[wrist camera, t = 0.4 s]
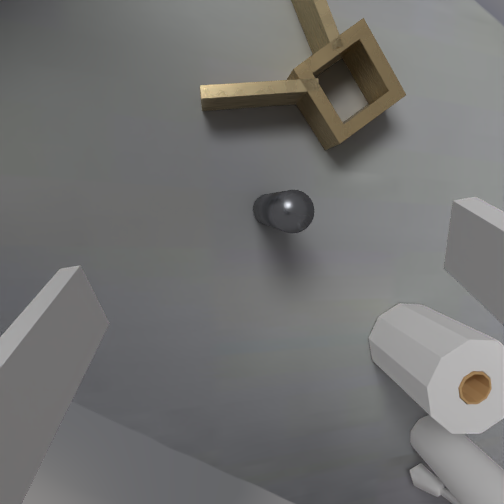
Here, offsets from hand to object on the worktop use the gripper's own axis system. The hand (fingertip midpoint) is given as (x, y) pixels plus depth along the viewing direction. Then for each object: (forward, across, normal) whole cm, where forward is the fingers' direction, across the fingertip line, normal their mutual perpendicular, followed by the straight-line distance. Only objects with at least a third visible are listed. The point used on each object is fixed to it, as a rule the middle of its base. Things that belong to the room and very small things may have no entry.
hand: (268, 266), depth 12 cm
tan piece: (+32, +5, +5) cm, 33 cm away
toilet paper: (+22, +16, -29) cm, 40 cm away
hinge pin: (+27, +1, -9) cm, 28 cm away
